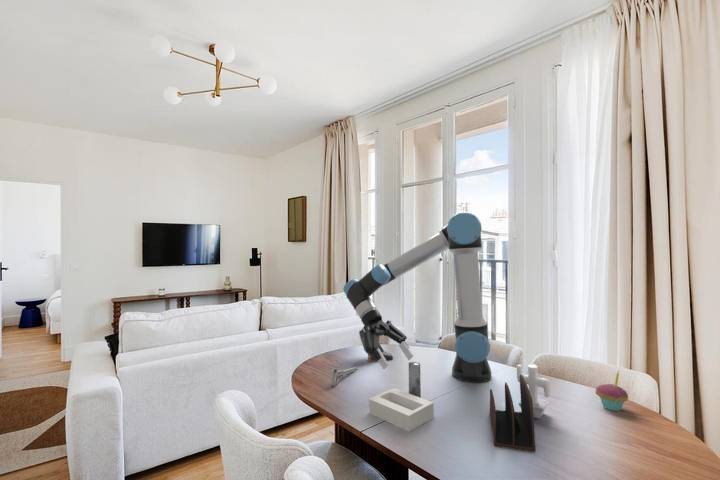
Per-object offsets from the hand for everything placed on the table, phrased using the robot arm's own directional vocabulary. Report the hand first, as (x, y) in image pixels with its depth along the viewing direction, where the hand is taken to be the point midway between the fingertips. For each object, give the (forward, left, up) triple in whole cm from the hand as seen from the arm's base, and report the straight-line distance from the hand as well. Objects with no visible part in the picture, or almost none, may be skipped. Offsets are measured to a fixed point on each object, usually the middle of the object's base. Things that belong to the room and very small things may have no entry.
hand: (399, 362), depth 128 cm
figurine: (-43, +6, -11) cm, 44 cm away
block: (-3, +16, -11) cm, 20 cm away
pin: (-6, +3, -11) cm, 13 cm away
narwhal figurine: (+16, -36, -11) cm, 41 cm away
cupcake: (-68, -4, -11) cm, 69 cm away
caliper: (+23, -11, -12) cm, 28 cm away
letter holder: (-34, +18, -12) cm, 40 cm away
